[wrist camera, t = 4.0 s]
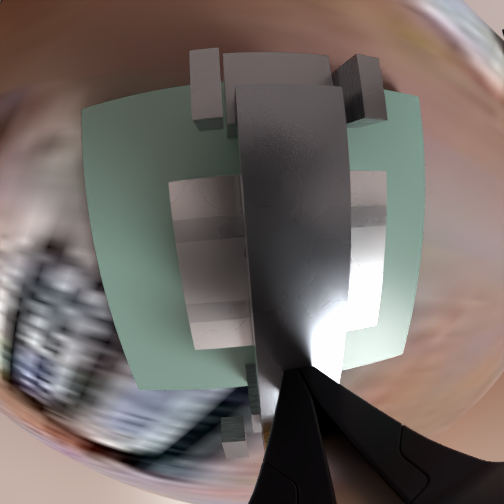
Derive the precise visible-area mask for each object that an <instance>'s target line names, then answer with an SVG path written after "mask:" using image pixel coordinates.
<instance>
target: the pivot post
mask: <svg viewBox="0 0 504 504" xmlns="http://www.w3.org/2000/svg"><path fill="white" fill-rule="evenodd" d="M189 58H190V89H191V110H192V121H193V122H194V124H195V125H196V127H197V128H198V130H199V131H200V132H201V131H210V130H221V129H224V126H223V109H222V94H221V77H220V60H219V48H207V49H198V50H190V51H189ZM332 80H333V84H332ZM270 83H279V84H311V85H326V86H337V87H342V91H343V98H344V106H345V115H346V125H347V128H360V127H364V126H368V125H372V124H376V123H380V122H384V121H388V119H387V110H386V102H385V94H384V87H383V81H382V75H381V69H380V64H379V58H375V57H370V56H365V55H360V54H355V55H354V56H353V57H352V58H350V59H349V60H348V61H347V62H345V63H344V64H343V65H342V66H340V67H339V68H338V69H337V70H335V71H334V72H333V73H332V76H331V69H330V62H329V56H327V55H317V54H305V53H288V52H240V53H223V87H224V102H225V117H226V131H227V138H237V128H236V114H235V100H234V92H235V85H238V84H270Z"/></svg>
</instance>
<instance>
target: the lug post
mask: <svg viewBox="0 0 504 504" xmlns="http://www.w3.org/2000/svg"><path fill="white" fill-rule="evenodd" d="M245 367H246V376H247V384H248V393H249V401H250V409H251V417H252V424H253V432H254V433H255V432H262V430H261V420H260V409H259V397H258V386H257V375H256V364H246V365H245ZM221 426H222V445H223V448H224V451H225V455H226V458H241V457H249V456H248V447H247V438H246V430H245V424H244V418H243V416H238V417H225V418H221Z"/></svg>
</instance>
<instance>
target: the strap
mask: <svg viewBox="0 0 504 504" xmlns="http://www.w3.org/2000/svg"><path fill="white" fill-rule="evenodd" d="M234 100H235V114H236V128H237V141H238V155H239V168H240V181H241V194H242V207H243V220H244V232H245V245H246V257H247V269H248V281H249V293H250V305H251V317H252V329H253V341H254V352H255V364H256V375H257V386H258V397H259V409H260V420H261V430H262V438H263V444H264V450H265V451H266V447H267V443H268V439H269V435H270V430H271V426H272V422H273V418H274V413H275V409H276V404H277V400H278V395H279V390H280V386H281V381H282V376H283V372H284V371H285V370H290V369H298V370H299V369H300V368H302V367H308V366H314V367H316V368H317V369H319V370H320V371H322V372H323V373H325V374H326V375H327V376H329V377H330V378H332V379H333V380H335V381H336V382H338V383H339V381H340V374H341V367H342V360H343V352H344V343H345V334H346V324H347V313H348V300H349V284H350V263H351V185H350V164H349V149H348V136H347V125H346V115H345V106H344V98H343V91H342V87H337V86H326V85H311V84H279V83H270V84H238V85H235V92H234Z"/></svg>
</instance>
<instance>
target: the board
mask: <svg viewBox="0 0 504 504" xmlns="http://www.w3.org/2000/svg"><path fill="white" fill-rule="evenodd" d="M332 84H333V82H332ZM221 94H222V109H223V126H224V129H221V130H210V131H201V132H200V131H199V130H198V128H197V127H196V125H195V124H194V122H193V121H192V110H191V89H190V85H186V86H179V87H172V88H166V89H160V90H155V91H150V92H145V93H140V94H136V95H131V96H127V97H123V98H119V99H115V100H111V101H107V102H104V103H100V104H97V105H93V106H90V107H87V108H84V109H82V110H81V125H82V153H83V168H84V179H85V188H86V197H87V205H88V212H89V218H90V224H91V230H92V236H93V241H94V246H95V251H96V256H97V261H98V265H99V270H100V274H101V278H102V282H103V286H104V290H105V293H106V297H107V301H108V304H109V308H110V311H111V314H112V318H113V321H114V324H115V327H116V330H117V333H118V336H119V339H120V342H121V345H122V348H123V350H124V353H125V356H126V359H127V361H128V364H129V366H130V369H131V371H132V374H133V376H134V379H135V381H136V384H137V386H138V388H139V389H140V390H194V389H215V388H229V387H240V386H248V384H247V376H246V367H245V365H246V364H255V352H254V345H249V346H239V347H228V348H216V349H202V350H195V348H194V343H193V338H192V334H191V329H190V324H189V319H188V314H187V309H186V303H185V298H184V292H183V287H182V281H181V275H180V269H179V263H178V256H177V249H176V243H175V236H174V228H173V220H172V212H171V203H170V194H169V184H168V182H172V181H178V180H183V179H191V178H200V177H209V176H219V175H230V174H240V168H239V155H238V141H237V138H227V131H226V117H225V102H224V87H223V82H221ZM384 94H385V102H386V110H387V119H388V121H384V122H380V123H376V124H372V125H368V126H364V127H360V128H347V136H348V149H349V164H350V170H372V171H386V180H387V218H386V238H385V254H384V267H383V277H382V288H381V296H380V303H379V310H378V317H377V323H376V325H372V326H368V327H363V328H358V329H354V330H349V331H346V334H345V343H344V352H343V360H342V367H341V371H342V370H346V369H350V368H354V367H358V366H362V365H366V364H370V363H374V362H378V361H381V360H385V359H388V358H392V357H395V356H398V355H401V354H403V350H404V347H405V343H406V339H407V334H408V330H409V326H410V321H411V316H412V311H413V306H414V301H415V295H416V289H417V283H418V276H419V269H420V261H421V252H422V241H423V228H424V210H425V161H424V142H423V130H422V120H421V111H420V103H419V97H417V96H413V95H409V94H404V93H400V92H395V91H390V90H384Z"/></svg>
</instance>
